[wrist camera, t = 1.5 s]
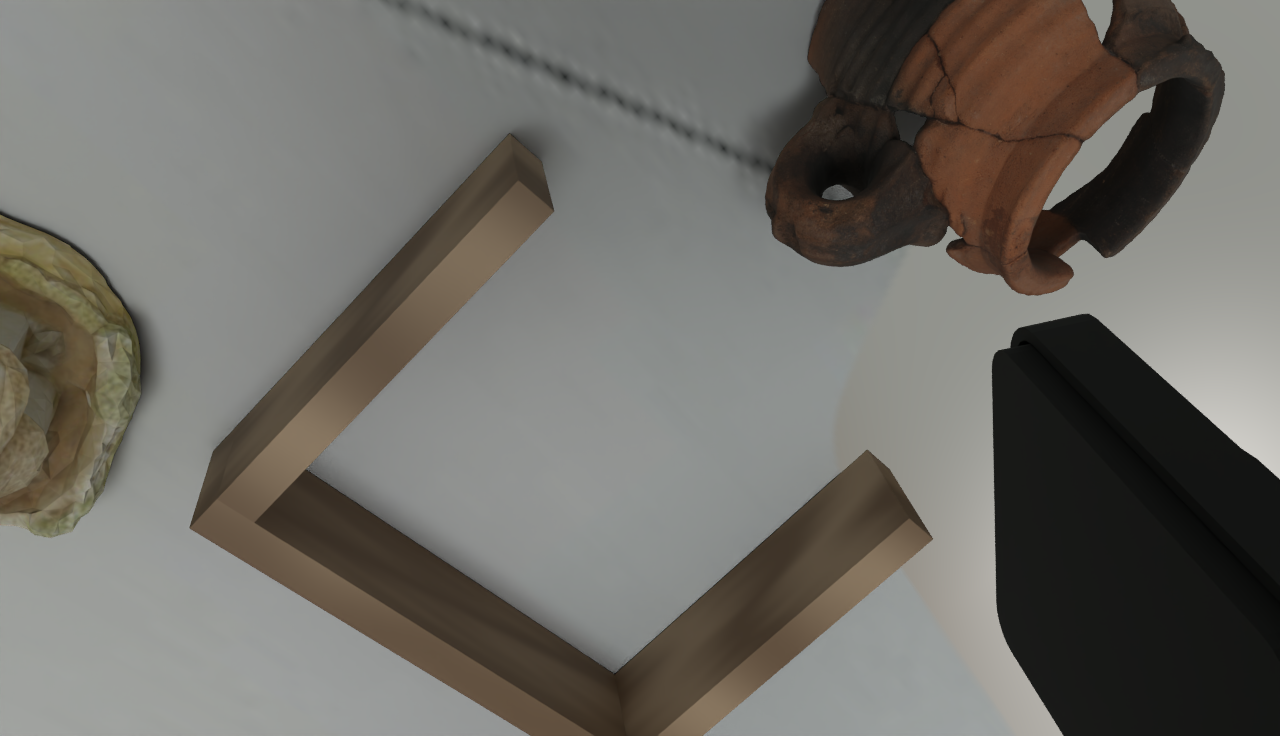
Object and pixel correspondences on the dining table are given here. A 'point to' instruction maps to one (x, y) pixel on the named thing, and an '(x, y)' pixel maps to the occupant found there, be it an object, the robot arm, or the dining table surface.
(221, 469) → the u-shaped wooden frame
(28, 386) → the ceramic model
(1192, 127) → the brown wooden sculpture
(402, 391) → the dining table surface
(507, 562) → the dining table surface
